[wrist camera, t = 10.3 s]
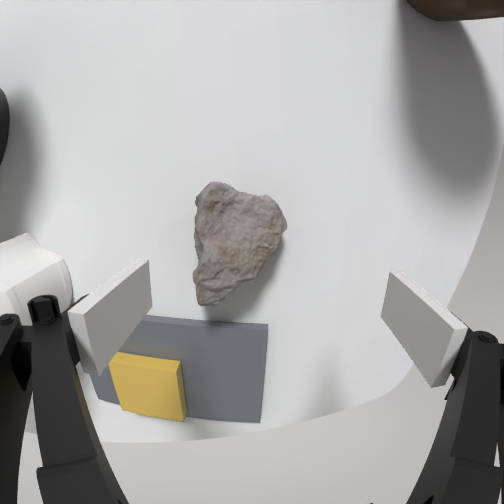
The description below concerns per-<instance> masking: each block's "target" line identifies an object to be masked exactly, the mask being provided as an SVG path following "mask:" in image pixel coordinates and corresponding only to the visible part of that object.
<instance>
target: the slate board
mask: <svg viewBox="0 0 504 504" xmlns="http://www.w3.org/2000/svg"><path fill="white" fill-rule="evenodd" d="M267 337H268V324H252V323H233V322H217V321H203V320H191V319H179V318H169V317H159V316H150V315H145V316H144V318H143V319H142V320H141V321H140V323H139V324H138V325H137V327H136V328H135V329H134V331H133V332H132V333H131V334H130V336H129V337H128V338H127V340H126V341H125V342H124V344H123V345H122V346H121V348H120V349H119V350H118V352H122V353H128V354H134V355H140V356H146V357H153V358H160V359H168V360H176V361H181V370H182V378H183V386H184V393H185V401H186V407H187V412H186V415H185V416H186V417H193V418H202V419H211V420H223V421H236V422H257V423H260V419H261V408H262V397H263V386H264V374H265V363H266V350H267ZM90 376H91V379H92V382H93V385H94V388H95V391H96V394H97V396H98V399H101V400H104V401H108V402H112V403H116V404H120V402H119V399H118V396H117V392H116V389H115V386H114V383H113V379H112V376H111V372H110V369H109V365H107V366H106V368H105V369H104V370H103V372H102V373H101V374H100V376H96V375H92V374H90Z"/></svg>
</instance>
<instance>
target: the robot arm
mask: <svg viewBox="0 0 504 504" xmlns="http://www.w3.org/2000/svg"><path fill="white" fill-rule="evenodd" d="M8 126H9V110H8V103H7V99H6V96H5V94H4V92H3V91H2V90H1V89H0V164H1V161H2V158H3V154H4V150H5V146H6V141H7V135H8ZM27 305H28V310H29V313H30V317H31V321H32V326H28V325H22V324H21V321H20V317H19V316H18V315H17V314H8V313H6V314H3V315H1V316H0V504H17V491H18V490H17V489H18V475H19V465H20V456H21V448H22V441H23V435H24V429H25V424H26V418H27V413H28V409H29V404H30V400H31V395H32V391H33V402H34V412H35V421H36V428H37V435H38V441H39V447H40V453H41V457H42V462H43V467H40V468H37V471H36V473H37V480H38V484H39V489H40V493H41V496H42V500H43V503H44V504H129V503H128V501H127V499H126V497H125V495H124V494H123V492H122V490H121V488H120V486H119V484H118V482H117V480H116V477H115V476H114V473H113V471H112V469H111V467H110V465H109V462H108V460H107V458H106V456H105V453H104V451H103V448H102V446H101V443H100V441H99V438H98V435H97V433H96V430H95V427H94V425H93V422H92V419H91V416H90V413H89V410H88V407H87V404H86V401H85V397H84V394H83V391H82V387H81V384H80V380H79V376H78V372H77V369H76V365H77V363H78V362H79V361H80V362H81V365H82V368H83V371H84V372H85V373H89V374H92V375H96V376H100V374H101V373H102V372H103V370H104V369H105V368H106V366H107V365H108V364H109V362H110V361H111V360H112V358H113V357H114V356H115V354H116V353H117V352H118V350H119V349H120V348H121V346H122V345H123V344H124V342H125V341H126V340H127V338H128V337H129V336H130V334H131V333H132V332H133V331H134V329H135V328H136V327H137V325H138V324H139V323H140V321H141V320H142V319H143V318H144V316H145V315H146V314H147V313H148V311H149V310H150V309H151V307H152V297H151V286H150V273H149V260H140V259H136V260H134V261H133V262H132V263H130V264H129V265H127V266H126V267H125V268H123V269H122V270H121V271H119V272H118V273H117V274H115V275H114V276H113V277H111V278H110V279H109V280H107V281H106V282H105V283H103V284H102V285H101V286H99V287H98V288H97V289H95V290H94V291H93V292H91V293H90V294H88V295H85V296H83V297H81V298H80V299H79V300H78V301H76V302H75V303H74V304H72V306H70V307H69V308H67V309H66V310H65V311H63V312H62V313H61V312H60V307H59V303H58V299H57V297H56V296H54V295H40V296H37V297H34V298H32V299H31V300H30V301H28V303H27ZM381 318H382V319H383V320H384V322H385V323H386V324H387V326H388V327H389V328H390V330H391V331H392V332H393V334H394V335H395V337H396V338H397V339H398V341H399V342H400V344H401V345H402V346H403V348H404V349H405V351H406V352H407V353H408V355H409V356H410V358H411V359H412V360H413V362H414V363H415V365H416V366H417V368H418V369H419V371H420V372H421V373H422V375H423V376H424V378H425V379H426V381H427V382H428V384H429V385H430V387H431V388H432V387H438V386H443V385H445V384H446V382H447V379H448V377H449V375H450V373H451V374H452V376H453V377H454V381H453V383H452V385H451V387H450V389H449V391H448V393H447V395H446V397H445V400H447V403H446V406H445V410H444V413H443V416H442V419H441V422H440V426H439V429H438V431H437V434H436V437H435V440H434V443H433V445H432V448H431V451H430V453H429V456H428V458H427V461H426V463H425V465H424V468H423V470H422V472H421V474H420V477H419V479H418V481H417V483H416V485H415V487H414V489H413V491H412V493H411V495H410V497H409V499H408V501H407V503H406V504H497V503H498V499H499V494H500V489H501V494H502V495H501V497H502V504H504V344H499V343H498V340H497V338H496V337H495V336H494V335H492V334H490V333H488V332H485V331H475V332H473V331H472V330H471V329H470V328H469V327H468V326H467V325H465V324H464V323H463V322H461V320H460V319H459V318H457V317H456V316H455V315H454V314H453V313H452V312H450V311H448V310H447V309H446V308H445V307H444V306H443V305H441V304H440V303H439V302H438V301H437V300H436V299H434V298H433V297H432V296H431V295H430V294H428V293H427V292H426V291H425V290H423V289H422V288H421V287H420V286H419V285H417V284H416V283H415V282H414V281H412V280H411V279H410V278H409V277H407V276H406V275H405V274H404V273H402V272H392V271H390V273H389V278H388V284H387V289H386V294H385V299H384V303H383V308H382V312H381ZM497 444H498V451H499V461H500V467H495V466H494V461H495V454H496V446H497ZM371 504H373V503H371Z"/></svg>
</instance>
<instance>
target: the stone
mask: <svg viewBox="0 0 504 504" xmlns="http://www.w3.org/2000/svg"><path fill="white" fill-rule="evenodd" d="M195 204H196V206H197V207H198V208H197V214H196V216H195V233H194V238H195V248H196V252H197V255H198V259H199V262H198V267H197V269H195V270H194V272H193V281H194V283H196V296H197V302H198V304H199V305H201V306H207V305H211V306H214V305H216V304H218V303H219V302H221V301H222V300H224V299H225V297H226V296H227V295H228V294H230V293H231V292H232V291H234V290H235V288H236V287H237V286H238V285H239V284H240V283H242V282H244V281H248V280H251V279H254V278H255V277H256V276H257V275H258V273H259V272H260V269H261V268H262V267H263V264H264V262H265V259H266V258H267V257H268V256H269V255H270V254H272V253H274V252H275V251H276V250H277V248H278V243H279V242H280V237H281V235H282V234H283V232H284V231H285V230H286V229H287V223H286V219H285V217H284V216H283V214H282V211H281V209H280V208H279V205H278V204H277V203H276V202H275V201H274V200H273V199H272V198H271V197H270V196H267V195H263V196H256V195H251V194H247V193H244V192H238V191H237V190H235V189H234V188H233V187H231V186H230V185H227V184H225V183H224V184H223V183H221V182H210V183H209V184H208V185H207V186H206V187H205V188H204V189H203V190H202V191H201V193H200V194H199V195H198V196H196V200H195Z"/></svg>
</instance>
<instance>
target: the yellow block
mask: <svg viewBox="0 0 504 504" xmlns="http://www.w3.org/2000/svg"><path fill="white" fill-rule="evenodd" d="M108 365H109V369H110V372H111V376H112V379H113V383H114V386H115V389H116V392H117V396H118V399H119V402H120V405H121V408H122V410H124V411H128V412H133V413H137V414H142V415H147V416H152V417H158V418H163V419H169V420H176V421H183V422H184V419H185V415H186V412H187V407H186V401H185V393H184V386H183V378H182V370H181V361H176V360H168V359H160V358H153V357H146V356H140V355H134V354H128V353H122V352H117V353H116V354H115V356H114V357H113V358H112V360H111V361H110V362H109V364H108Z"/></svg>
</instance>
